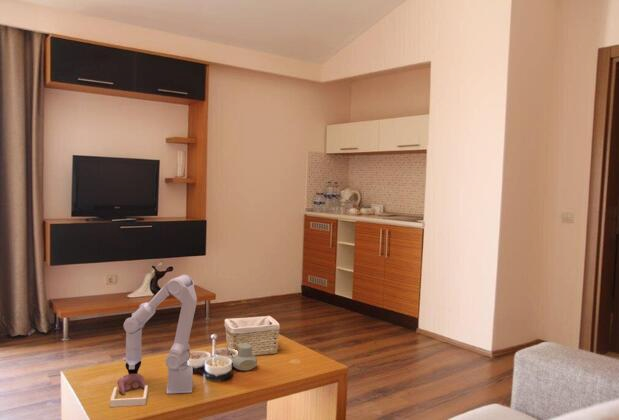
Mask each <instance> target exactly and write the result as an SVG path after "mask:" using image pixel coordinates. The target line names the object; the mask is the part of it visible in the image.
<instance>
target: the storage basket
mask: <svg viewBox="0 0 619 420" xmlns="http://www.w3.org/2000/svg"><path fill="white" fill-rule="evenodd" d="M224 328H225V336H226V337H225V339H226V340H225V341H226V348H227V347H229V348H231V349H235V350H237V351H238V346H239V345H241V344H250V345H251V346H252V355H254V356H255V357H256V356H263V355H270V354H277V353H278V346H279V344H278V343H279V335H280V334H279V333H280V329H281V326H280V323H279V322H278V321H277V319H275V318H274V317H272V316H271V315H267V316H266V315H265V316H262V315H261V316H251V317H250V316H249V317H238V318H237V317H235V318H225V319H224Z"/></svg>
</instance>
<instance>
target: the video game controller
mask: <svg viewBox="0 0 619 420" xmlns="http://www.w3.org/2000/svg"><path fill="white" fill-rule="evenodd" d="M130 383H132V384H131V385H130ZM145 385H147V383H146V381H145V379H144V377H143V375H141V373H138V374H136V373H133V374H129V373H128V374H125V375H124V376H123V375H122V376H121V377H120V378H119V379H117V387H118V388H119V391H120V392H119V393H121V395H123V396H124V395H125V393H126V391H129V390H130V389H131V388H133V389H137V388H138V387H139V386H141V388H142V389H145Z"/></svg>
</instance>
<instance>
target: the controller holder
mask: <svg viewBox="0 0 619 420" xmlns="http://www.w3.org/2000/svg"><path fill="white" fill-rule="evenodd" d="M148 392H149V385H148V384H146V385H145V389H144V390H143V395H142V397H129V398H117V395H118V386H114V387H113V391H112V393H111V396H110V401H109V407H110V408H118V407H133V406H135V407H136V406H146V404H147V400H148V399H147V397H148Z"/></svg>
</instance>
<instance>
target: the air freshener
mask: <svg viewBox="0 0 619 420" xmlns="http://www.w3.org/2000/svg"><path fill="white" fill-rule="evenodd" d="M232 359H233V360H232ZM232 359H231V362H232V361H233V365H232V367H234V369H236V370H238V371H243V372H247V371H250V370H253V369H254V368H255V367H256V366H257V364H258V359H257V357H256V355H255V356H254V355H252V346H251V345H250V344H241V345H239V346H238V355H236V356H235V357H232Z"/></svg>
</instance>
